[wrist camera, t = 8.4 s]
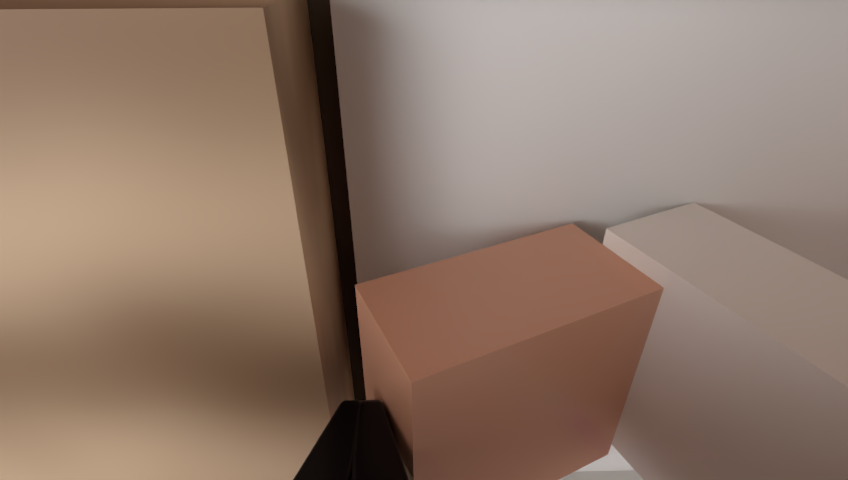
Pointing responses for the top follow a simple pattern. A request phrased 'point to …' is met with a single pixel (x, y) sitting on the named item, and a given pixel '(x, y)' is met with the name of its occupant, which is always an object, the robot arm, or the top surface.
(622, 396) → the tile terracotta
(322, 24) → the top surface
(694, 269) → the tile cream
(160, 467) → the thick wooden platform
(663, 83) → the tray
